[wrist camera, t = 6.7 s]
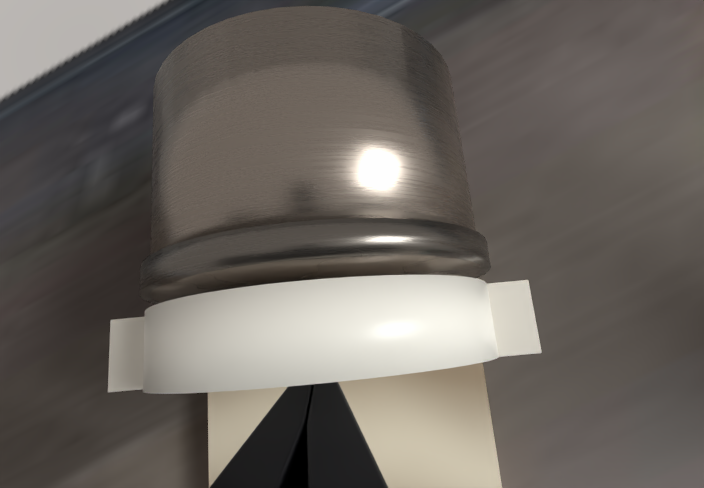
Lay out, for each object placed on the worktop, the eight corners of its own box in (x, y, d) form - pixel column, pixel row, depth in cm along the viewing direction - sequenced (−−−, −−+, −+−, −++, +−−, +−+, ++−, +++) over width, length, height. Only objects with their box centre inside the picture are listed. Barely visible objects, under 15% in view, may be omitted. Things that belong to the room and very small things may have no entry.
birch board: (513, 606, 15) (536, 652, 12) (221, 628, 15) (195, 676, 13) (443, 145, 18) (452, 119, 16) (213, 170, 19) (193, 147, 17)
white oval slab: (484, 350, 14) (617, 357, 6) (197, 376, 14) (-10, 413, 7) (476, 301, 15) (594, 252, 7) (197, 327, 15) (1, 309, 7)
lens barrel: (455, 292, 15) (550, 231, 7) (218, 315, 15) (39, 282, 7) (436, 160, 16) (498, -27, 8) (215, 183, 16) (59, 25, 8)
